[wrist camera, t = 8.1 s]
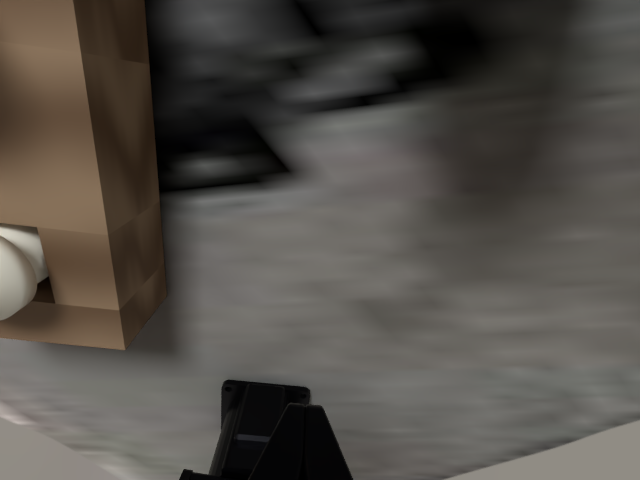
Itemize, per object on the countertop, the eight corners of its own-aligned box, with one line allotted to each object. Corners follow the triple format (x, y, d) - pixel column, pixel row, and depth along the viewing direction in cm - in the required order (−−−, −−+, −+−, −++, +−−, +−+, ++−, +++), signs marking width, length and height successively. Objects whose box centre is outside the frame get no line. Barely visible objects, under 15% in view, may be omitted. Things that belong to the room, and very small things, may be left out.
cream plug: (112, 262, 20) (32, 326, 14) (40, 254, 20) (-68, 316, 14) (102, 195, 18) (7, 239, 13) (23, 186, 18) (-107, 227, 13)
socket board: (166, 295, 21) (125, 350, 17) (8, 278, 21) (-79, 330, 16) (135, -115, 13) (39, -222, 9) (-123, -156, 13) (-365, -293, 8)
